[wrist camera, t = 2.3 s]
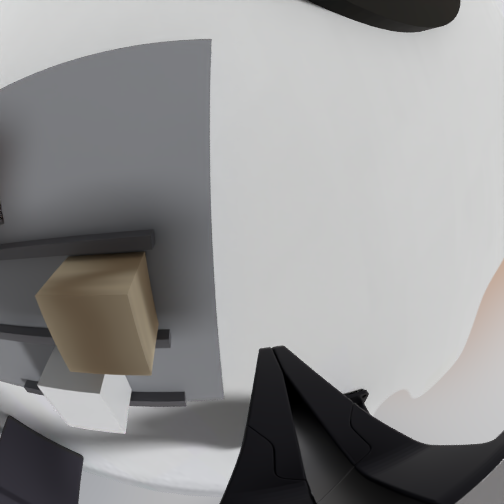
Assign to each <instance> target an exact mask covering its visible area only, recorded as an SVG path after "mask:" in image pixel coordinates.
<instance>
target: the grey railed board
mask: <svg viewBox="0 0 504 504" xmlns="http://www.w3.org/2000/svg"><path fill="white" fill-rule="evenodd" d="M211 40H212V39H196V40H179V41H167V42H158V43H150V44H143V45H136V46H130V47H125V48H119V49H114V50H110V51H105V52H101V53H97V54H93V55H89V56H85V57H82V58H78V59H75V60H71V61H68V62H65V63H62V64H59V65H56V66H53V67H50V68H48V69H45V70H42V71H40V72H37V73H35V74H32V75H30V76H28V77H25V78H23V79H21V80H18V81H16V82H14V83H12V84H10V85H8V86H6V87H4V88H2V89H0V203H1V209H2V214H3V218H2V219H0V381H2V382H6V383H10V384H14V385H18V386H22V387H24V388H25V389H26V391H27V392H30V393H35V394H39V395H44V394H43V393H42V391H41V390H40V389H39V387H38V386H37V384H38V382H39V380H40V377H41V375H42V373H43V371H44V368H45V366H46V364H47V362H48V360H49V358H50V356H51V354H52V351H53V349H54V347H55V346H56V344H55V342H54V340H53V338H52V336H51V333H50V331H49V329H48V327H47V325H46V322H45V320H44V318H43V315H42V313H41V310H40V308H39V305H38V303H37V300H36V297H35V295H36V294H37V293H38V291H39V290H40V289H41V288H42V286H43V285H44V284H45V283H46V282H47V280H48V279H49V278H50V277H51V276H52V274H53V273H54V272H55V271H56V270H57V269H58V268H59V266H60V265H61V264H62V263H63V262H64V261H65V260H66V259H67V257H69V256H83V255H98V254H113V253H128V252H143V251H145V255H146V261H147V267H148V273H149V279H150V284H151V290H152V295H153V300H154V305H155V310H156V314H157V319H158V324H159V325H158V331H157V338H156V345H155V352H154V360H153V367H152V376H144V375H125V376H126V378H127V381H128V383H129V385H130V387H131V389H132V391H131V397H130V404H129V406H150V407H175V406H186V401H203V400H218V399H224V392H223V382H222V372H221V362H220V351H219V339H218V327H217V314H216V300H215V284H214V267H213V248H212V224H211V194H210V67H211Z"/></svg>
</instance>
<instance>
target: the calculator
mask: <svg viewBox="0 0 504 504" xmlns="http://www.w3.org/2000/svg"><path fill="white" fill-rule="evenodd" d="M82 466H83V456H82V455H80V454H78V453H76V452H73V451H71V450H69V449H67V448H65V447H63V446H61V445H59V444H57V443H55V442H53V441H51V440H49V439H48V438H46V437H44V436H42V435H40V434H39V433H37V432H35V431H33V430H32V429H30V428H29V427H27V426H25V425H24V424H22V423H21V422H19V421H17V420H16V419H14V418H13V417H11V416H8V418H7V420H6V423H5V426H4V429H3V431H2V434H1V438H0V504H78V499H79V490H80V480H81V472H82Z"/></svg>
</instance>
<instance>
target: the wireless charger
mask: <svg viewBox="0 0 504 504" xmlns="http://www.w3.org/2000/svg"><path fill="white" fill-rule="evenodd" d="M309 1H311V2H313V3H315V4H317V5H319V6H321V7H324V8H326V9H328V10H330V11H333V12H335V13H337V14H340V15H342V16H345V17H347V18H350V19H353V20H355V21H358V22H361V23H364V24H367V25H370V26H374V27H378V28H381V29H386V30H390V31H397V32H420V31H425V30H429V29H432V28H436V27H441V26H444V25H446V24H448V23H450V22H451V21H452V20H454V18H455V17H456V15H457V14H458V11H459V8H460V0H309Z"/></svg>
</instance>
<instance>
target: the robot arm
mask: <svg viewBox="0 0 504 504" xmlns="http://www.w3.org/2000/svg"><path fill="white" fill-rule="evenodd" d="M368 395H369V393H368V392H367V390H363V391H360V392H357V393H353V394H350V395H346V396H345V395H343V394H342V393H341V392H340V391H338V390H337V389H336V388H335V387H333V386H332V385H331V384H330V383H328V382H327V381H326V380H325V379H323V378H322V377H321V376H320V375H319V374H317V373H316V372H315V371H314V370H312V369H311V368H310V367H309V366H308V365H306V364H305V363H304V362H303V361H302V360H300V359H299V358H298V357H297V356H296V355H294V354H293V353H292V352H291V351H290V350H289V349H287V348H286V347H285V346H276V347H272V348H270V347H268V348H261V349H259V353H258V359H257V365H256V371H255V377H254V383H253V389H252V395H251V400H250V406H249V412H248V417H247V423H246V427H245V433H244V438H243V442H242V446H241V450H240V453H239V456H238V459H237V462H236V465H235V468H234V470H233V473H232V475H231V478H230V480H229V483H228V485H227V487H226V490H225V492H224V495H223V497H222V499H221V502H220V504H504V431H503V432H502V433H501V434H500V435H499V436H498V437H497V438H496V439H494V440H492V441H490V442H487V443H483V444H471V445H428V444H424V443H420V442H418V441H416V440H413V439H412V438H410V437H407V436H406V435H404V434H402V433H400V432H398V431H397V430H395V429H393V428H391V427H389V426H388V425H386V424H384V423H382V422H381V421H379V420H378V419H376V418H374V417H373V416H372V415H370V413H369V411H368V410H367V408H366V406H365V404H364V402H365V401H366V399H367V397H368Z"/></svg>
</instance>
